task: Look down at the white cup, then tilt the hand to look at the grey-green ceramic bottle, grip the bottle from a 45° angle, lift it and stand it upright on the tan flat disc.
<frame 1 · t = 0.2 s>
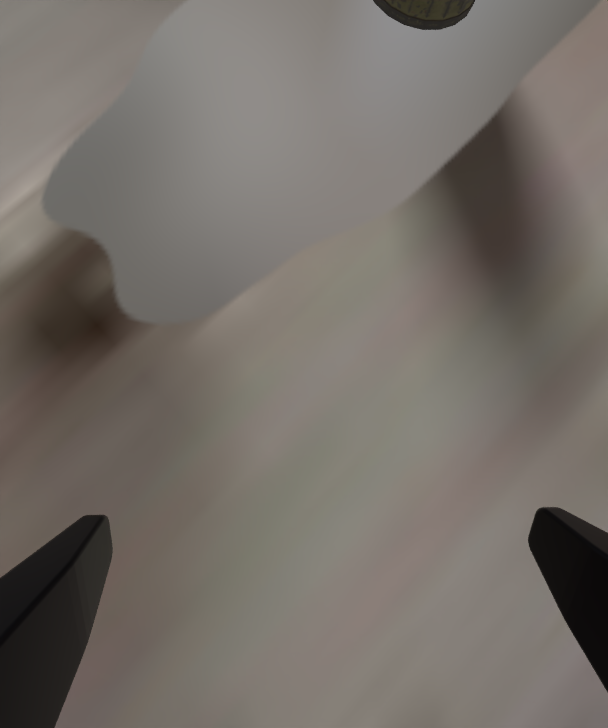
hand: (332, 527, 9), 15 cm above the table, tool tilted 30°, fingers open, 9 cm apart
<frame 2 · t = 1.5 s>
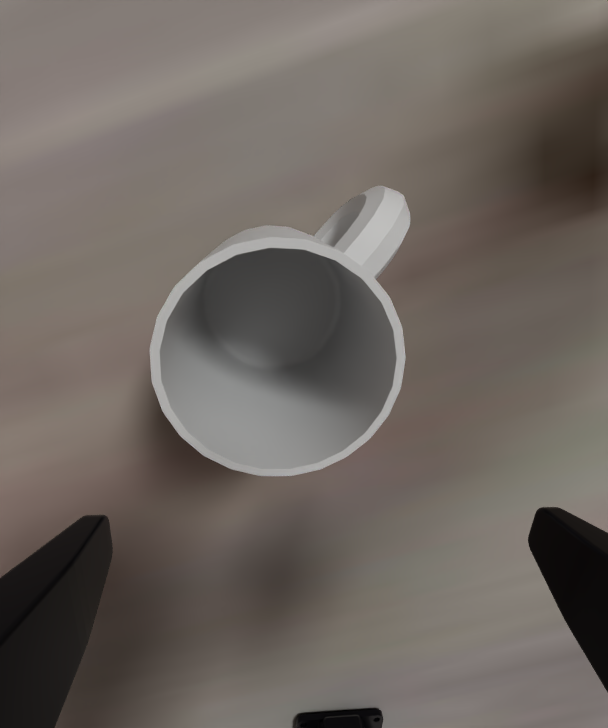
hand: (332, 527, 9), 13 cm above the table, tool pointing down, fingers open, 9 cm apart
cup: (291, 280, 20), on the table
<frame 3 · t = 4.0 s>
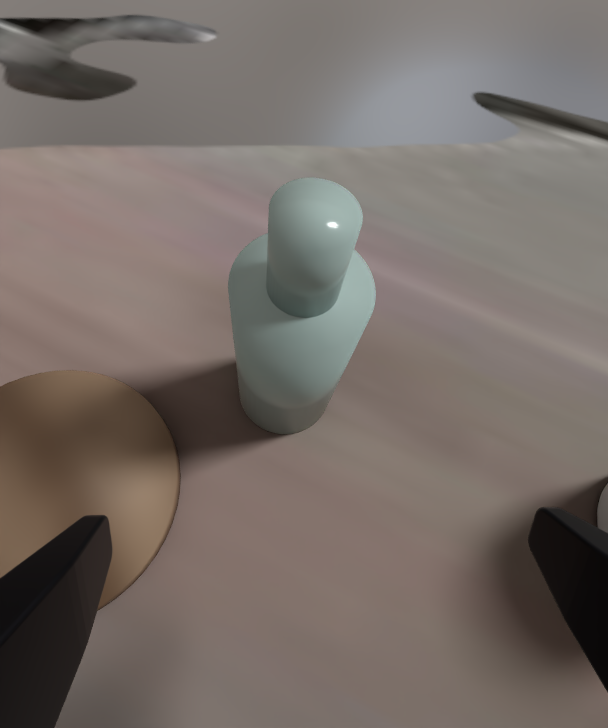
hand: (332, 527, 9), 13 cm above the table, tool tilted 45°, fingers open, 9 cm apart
tan flat disc: (56, 490, 21), on the table
ceramic bottle: (284, 390, 24), on the table
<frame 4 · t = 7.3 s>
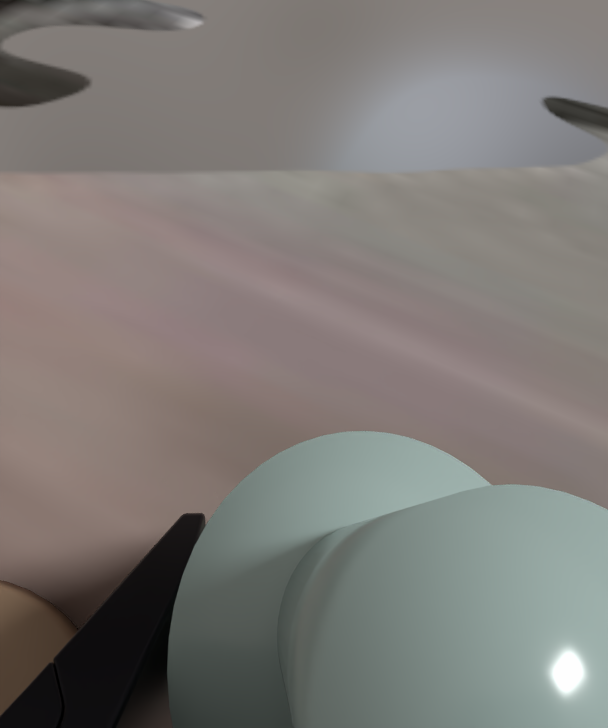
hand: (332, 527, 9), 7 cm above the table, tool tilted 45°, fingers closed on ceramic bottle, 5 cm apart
ceramic bottle: (299, 581, 15), on the table, touching gripper
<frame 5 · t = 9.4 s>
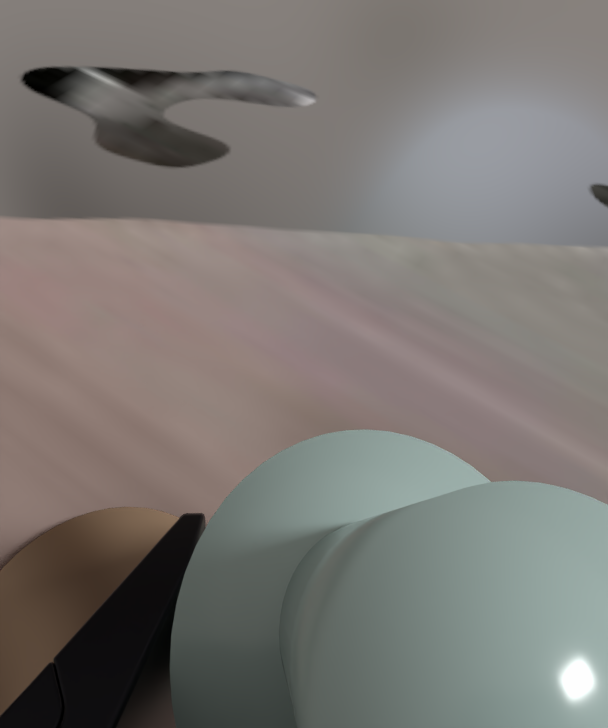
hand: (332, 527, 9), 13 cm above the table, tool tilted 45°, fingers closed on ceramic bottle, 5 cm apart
tan flat disc: (114, 654, 18), on the table
ceramic bottle: (300, 580, 15), point 6 cm above the table, touching gripper
when the fingers open (9 cm above the table, at t = 11.5 s): ceramic bottle stays where it is, resting on tan flat disc.
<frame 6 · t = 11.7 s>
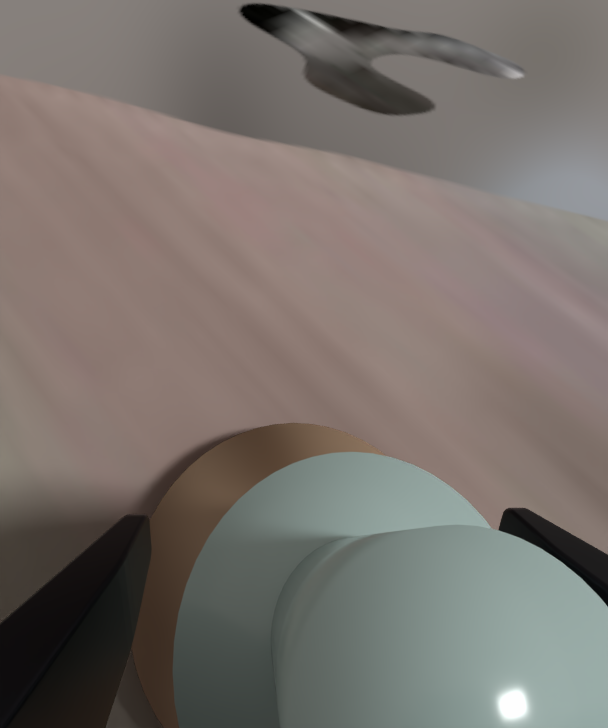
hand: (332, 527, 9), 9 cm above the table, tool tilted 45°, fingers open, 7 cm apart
tan flat disc: (295, 578, 17), on the table
ceramic bottle: (298, 582, 15), point 1 cm above the table, touching tan flat disc
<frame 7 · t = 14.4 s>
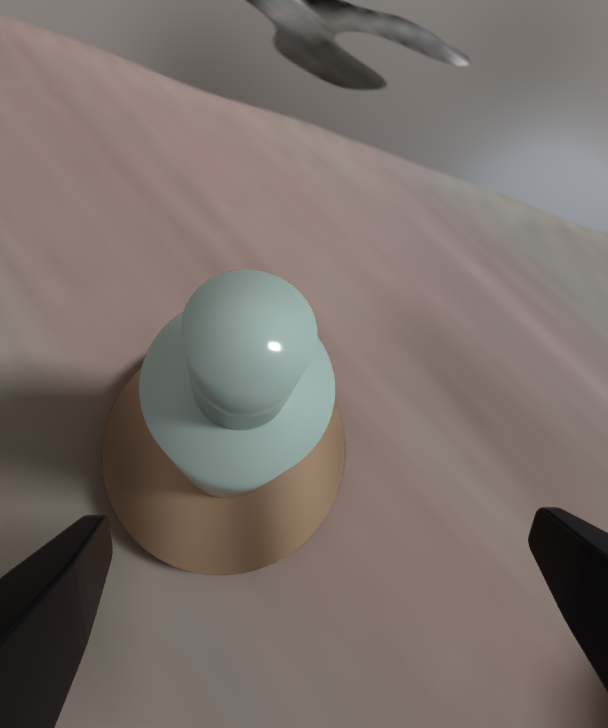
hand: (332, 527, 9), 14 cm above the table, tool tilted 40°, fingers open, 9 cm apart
tan flat disc: (229, 446, 22), on the table
ceramic bottle: (230, 443, 21), point 1 cm above the table, touching tan flat disc
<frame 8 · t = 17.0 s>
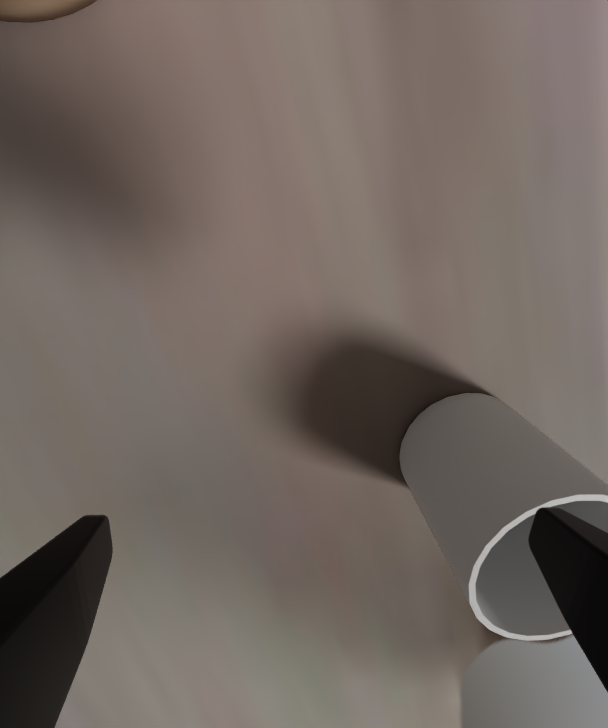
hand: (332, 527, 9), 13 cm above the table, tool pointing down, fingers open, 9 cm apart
cup: (471, 456, 25), on the table
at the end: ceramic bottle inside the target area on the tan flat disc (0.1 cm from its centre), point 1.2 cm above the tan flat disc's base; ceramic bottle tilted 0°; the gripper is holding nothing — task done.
